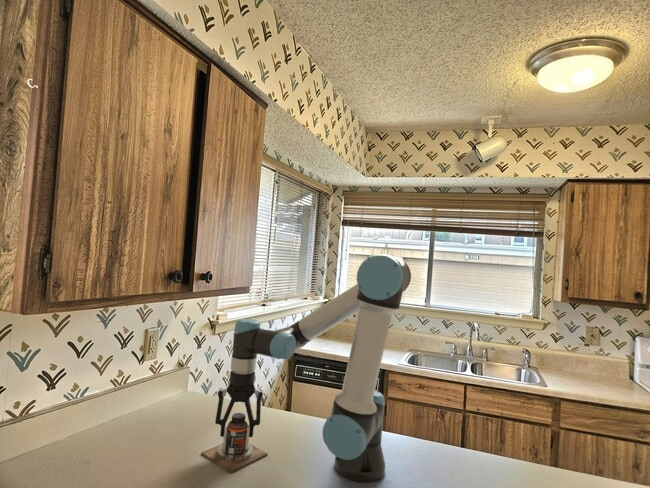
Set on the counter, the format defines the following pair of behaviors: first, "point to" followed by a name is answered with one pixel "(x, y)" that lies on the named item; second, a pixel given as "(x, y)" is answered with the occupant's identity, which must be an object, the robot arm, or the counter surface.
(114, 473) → the counter surface
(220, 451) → the collar
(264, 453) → the seat board
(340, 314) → the robot arm
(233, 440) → the supplement bottle
